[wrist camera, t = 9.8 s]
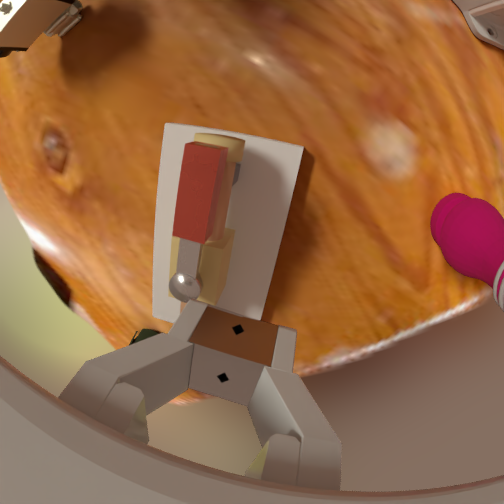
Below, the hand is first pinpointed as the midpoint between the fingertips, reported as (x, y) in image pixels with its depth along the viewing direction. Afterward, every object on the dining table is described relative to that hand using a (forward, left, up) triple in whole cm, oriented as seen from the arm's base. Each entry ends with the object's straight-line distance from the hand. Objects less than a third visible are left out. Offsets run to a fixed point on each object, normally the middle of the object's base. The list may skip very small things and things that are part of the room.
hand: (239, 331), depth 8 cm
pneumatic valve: (+30, -17, -22) cm, 40 cm away
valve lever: (+5, +3, -14) cm, 15 cm away
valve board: (+6, +8, -22) cm, 24 cm away
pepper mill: (-18, -1, -22) cm, 29 cm away
